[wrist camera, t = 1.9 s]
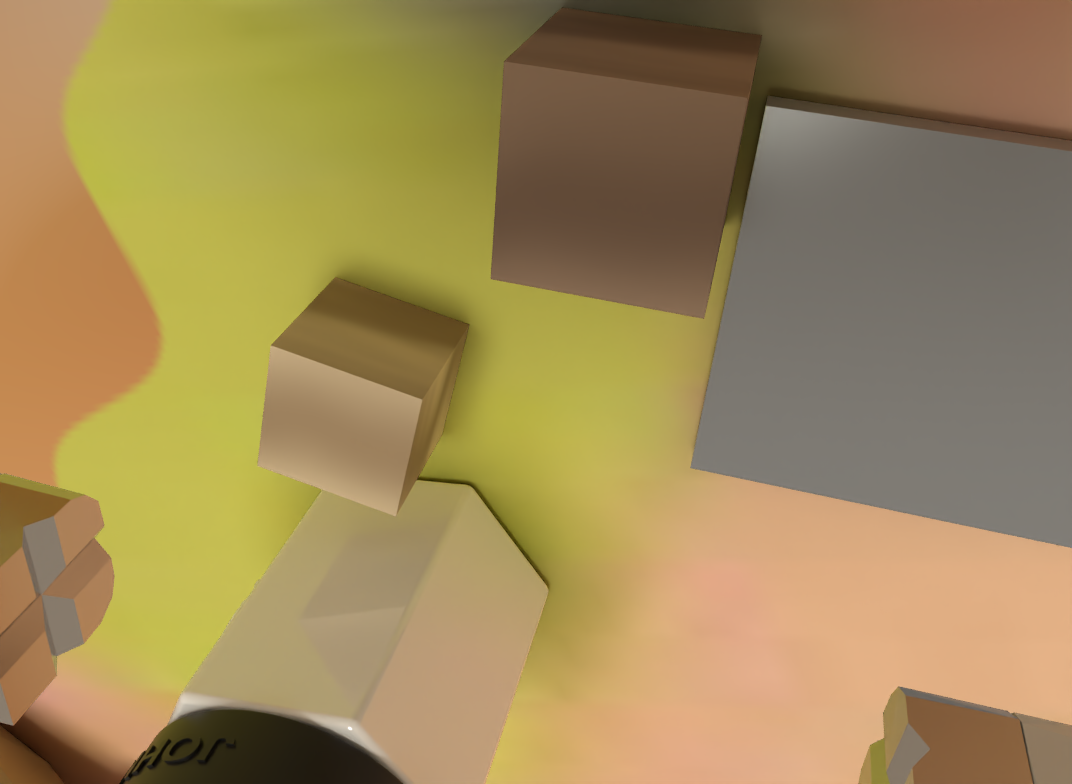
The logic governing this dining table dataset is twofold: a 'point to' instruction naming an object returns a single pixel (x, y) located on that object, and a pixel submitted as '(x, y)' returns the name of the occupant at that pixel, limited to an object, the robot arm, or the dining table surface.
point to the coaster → (901, 320)
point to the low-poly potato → (23, 763)
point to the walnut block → (620, 157)
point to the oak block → (359, 394)
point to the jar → (363, 653)
